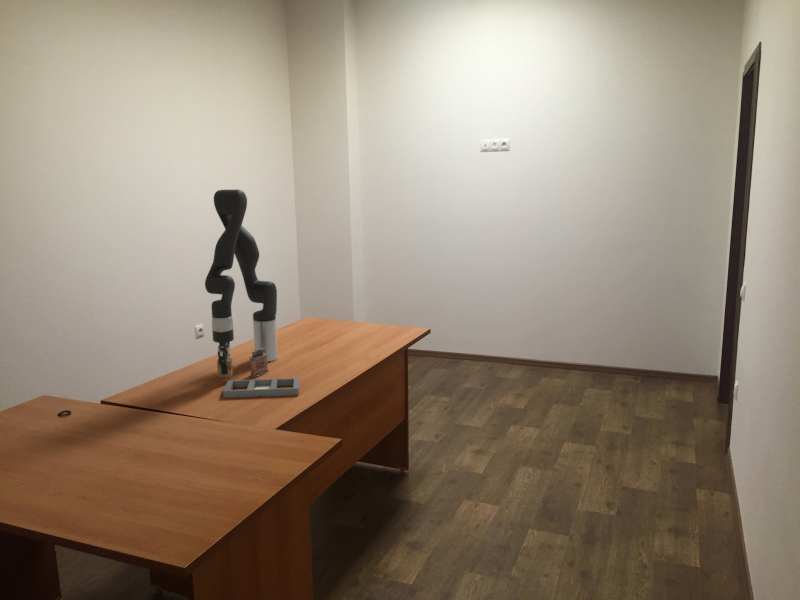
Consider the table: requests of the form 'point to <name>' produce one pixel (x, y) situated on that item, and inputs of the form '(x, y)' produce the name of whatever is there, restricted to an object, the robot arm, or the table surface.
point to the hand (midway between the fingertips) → (225, 372)
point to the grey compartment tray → (261, 387)
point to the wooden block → (229, 368)
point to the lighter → (258, 362)
